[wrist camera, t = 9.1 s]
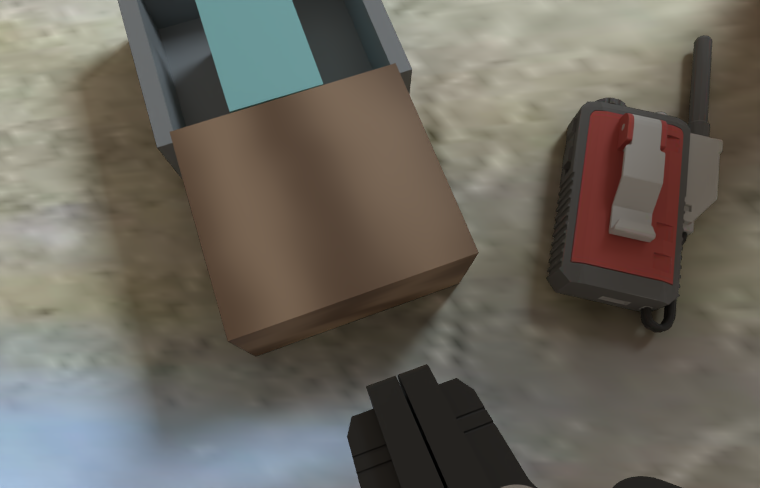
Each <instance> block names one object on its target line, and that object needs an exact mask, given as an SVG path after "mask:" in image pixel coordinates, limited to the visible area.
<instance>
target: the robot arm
mask: <svg viewBox="0 0 760 488" xmlns="http://www.w3.org/2000/svg"><path fill="white" fill-rule="evenodd" d="M398 379H399V382H398V380H397V378H396V376H394V377H391V378H388V379H385V380H383V381H380V382H377V383H374V384H372V385H369V386H366V388H367V391H368V394H369V397H370V400H371V403H372V406H373V409H371V410H369V411H366V412H363V413H361V414H358V415H355V416H352V418H351V422H350V427H349V431H348V436H347V438H348V442H349V445H350V449H351V453H352V457H353V460H354V464H355V468H356V472H357V475H358V479H359V483H360V487H361V488H537V487H536V486H534V484H533V483H532V482H531V481H530V480H529V479H528V477H527V476H526V474H525V473H524V471H523V469H522V468H521V466H520V465H519V463H518V461H517V460H516V458H515V456H514V455H513V453H512V451H511V450H510V448H509V447H508V445H507V443H506V442H505V440H504V438H503V437H502V435H501V433H500V432H499V430H498V428H497V427H496V425H495V424H494V423H493V420H492V419H491V417H490V415H489V414H488V412H487V410H485V408H484V406H483V404H482V402H481V401H480V399H479V397H478V396H477V394H476V392H475V391H474V390H473V389H472V388H471V387H469V386H468V385H466V384H465V383H463V382H462V381H460V380H459V379H457V378H455V379H453V380H450V381H447V382H444V383H442V384H439V385H438V383H437V381H436V379H435V377H434V375H433V373H432V372H431V370H430V368H429V366H428V365H427V364H426V365H424V366H421V367H418V368H415V369H413V370H410V371H407V372H404V373H402V374H399V375H398ZM399 383H400V384H399ZM613 488H682V487H679V486H676V485H673V484H671V483H668V482H665V481H663V480H659V479H656V478H652V477H644V476H638V477H631V478H627V479H624V480H622V481H620V482H619V483H617V484H616V485H615V486H614V487H613Z"/></svg>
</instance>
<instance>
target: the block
mask: <svg viewBox="0 0 760 488" xmlns="http://www.w3.org/2000/svg"><path fill="white" fill-rule="evenodd" d="M195 2H196V5H197V8H198V11H199V15H200V18H201V21H202V24H203V28H204V31H205V34H206V37H207V40H208V44H209V47H210V50H211V53H212V57H213V60H214V63H215V66H216V70H217V73H218V76H219V79H220V83H221V86H222V89H223V92H224V95H225V99H226V102H227V105H228V108H229V112H230V113H233V112H236V111H240V110H243V109H246V108H249V107H253V106H256V105H259V104H263V103H266V102H269V101H272V100H276V99H279V98H282V97H286V96H289V95H292V94H295V93H299V92H302V91H305V90H309V89H312V88H315V87H319V86H322V85H323V82H322V79H321V76H320V74H319V71H318V68H317V66H316V63H315V60H314V58H313V55H312V52H311V50H310V47H309V44H308V42H307V39H306V36H305V34H304V31H303V28H302V26H301V23H300V20H299V17H298V15H297V12H296V9H295V7H294V4H293V1H292V0H195Z"/></svg>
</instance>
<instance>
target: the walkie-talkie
mask: <svg viewBox="0 0 760 488" xmlns="http://www.w3.org/2000/svg"><path fill="white" fill-rule="evenodd" d="M711 55H712V39H711V38H710V37H709V36H700V37H698V38H697V39H696V41H695V42H694V52H693V66H692V80H691V95H690V109H689V123H688V124H687V123H686V122H684V121H683V120H681V119H679V118H677V117H673V116H668V115H667V114H666V113H664V112H656V113H654V112H649V111H644V110H639V109H634V108H630V107H627V106H626V105H625V103H624V102H622V101H621V100H619V99H615V98H604V99H599V100H597V101H595V102H587V103H586V104H584V105H583V106H582V107H581V108H580V110H579V111H578V113H577V114H576V116H575V117H574V118H573V120H572V121H571V123H570V124H569V126H568V131H567V141H566V148H565V155H564V159H563V166H562V175H561V182H560V188H561V191H560V192H559V196H560V199H559V200H558V202H557V204H559V207H558V208H557V209H556V212H558V214H557V216H556V217H555V220H556V224H555V225H554V229H555V233H554V234H553V237H554V241H553V242H552V244H551V245H552V246H553V248H552V250H551V251H550V254H551V259H550V260H549V263H550V267H549V268H548V272H549V276H548V277H547V278H546V279H547V280H548V282H549V283H550V285H551V286H552V288H553V289H554V291H555V292H557V293H561V294H566V295H570V296H574V297H579V298H583V299H587V300H592V301H596V302H600V303H605V304H609V305H614V306H618V307H622V308H627V309H631V310H635V311H640V312H641V320H642V323H643V325H644V326H645V327H646V328H647V329H649V330H651V331H653V332H662V331H666V330H668V329H669V328H670V327H671V326H672V324H673V321H674V319H675V312H676V298H677V297H679V296H680V295H679V294H678V290H679V288H680V284H679V279H680V278H681V275H680V269H681V265H680V261H681V259H682V256H681V251H682V250H683V247H682V245H683V244H684V242H685V241H686V238H687V236H688V235H689V234H691V233H693V232H694V220H695V219H696V218H697V217H698V216H700V215H701V214H702V213H703V212H704V211H705V210H706V209H707V208H708V207H709V206H710V205H711V204H713V203H714V202H715V201H716V200H717V198H718V179H719V160H720V153H721V152H722V151H723V141H722V140H720V139H716V138H711V137H709V133H710V124H709V123H707V122H708V105H709V88H710V71H711ZM664 306H665V308H664V319H663V321H662V322H661V324H658V323H656V322H655V321H654V320H653V319H652V314H651V311H653V310H656V309H659V308H661V307H664Z"/></svg>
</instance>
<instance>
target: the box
mask: <svg viewBox="0 0 760 488" xmlns="http://www.w3.org/2000/svg"><path fill="white" fill-rule="evenodd" d="M292 1H293V4H294V7H295V9H296V12H297V15H298V17H299V20H300V23H301V26H302V28H303V31H304V34H305V36H306V39H307V42H308V44H309V47H310V50H311V52H312V55H313V58H314V60H315V63H316V66H317V68H318V71H319V74H320V76H321V79H322V82H323V85H325V84H328V83H332V82H335V81H338V80H342V79H345V78H348V77H351V76H355V75H358V74H361V73H365V72H368V71H371V70H374V69H378V68H381V67H384V66H388V65H391V64H394V63H396V65H397V68H398V70H399V72H400V74H401V77H402V79H403V81H404V84H405V86H406V88H407V90H408V93H410V84H411V75H412V68H411V66H410V64H409V61H408V59H407V57H406V55H405V52H404V50H403V48H402V46H401V43H400V41H399V39H398V37H397V34H396V32H395V30H394V28H393V25H392V23H391V21H390V19H389V17H388V14H387V12H386V10H385V8H384V5H383V3H382V1H381V0H292ZM118 3H119V7H120V11H121V15H122V18H123V22H124V26H125V30H126V33H127V37H128V41H129V44H130V48H131V52H132V56H133V59H134V63H135V67H136V71H137V74H138V78H139V82H140V85H141V89H142V93H143V97H144V100H145V104H146V108H147V112H148V115H149V119H150V123H151V126H152V130H153V134H154V138H155V141H156V145H157V148H158V149H159V150H160V152H161V153H162V154H163V155H164V157H165V158H166V159H167V161H168V162H169V163H170V164H171V166H172V167H173V168H174V169H175V171H176V172H177V173H178V174H179V176H180V177H181V178H182V175H181V172H180V168H179V164H178V161H177V157H176V154H175V150H174V146H173V143H172V139H171V136H170V131H174V130H177V129H180V128H184V127H187V126H190V125H194V124H197V123H200V122H203V121H207V120H210V119H213V118H217V117H220V116H223V115H226V114H230V112H229V108H228V105H227V102H226V99H225V95H224V92H223V89H222V86H221V83H220V79H219V76H218V73H217V70H216V66H215V63H214V60H213V57H212V53H211V50H210V47H209V44H208V40H207V37H206V34H205V31H204V28H203V24H202V21H201V18H200V15H199V11H198V8H197V5H196V2H195V0H118Z"/></svg>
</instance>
